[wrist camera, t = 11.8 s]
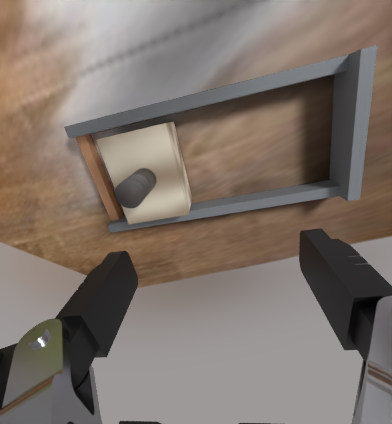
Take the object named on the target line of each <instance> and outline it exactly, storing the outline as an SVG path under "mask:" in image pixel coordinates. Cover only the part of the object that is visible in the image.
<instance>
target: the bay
mask: <svg viewBox="0 0 392 424" xmlns="http://www.w3.org/2000/svg"><path fill="white" fill-rule="evenodd" d="M376 53H377V45H376V46H372V47H368V48H364V49H360V50H358V51H356V52H354V53H351V54H349V55H345V56H341V57H337V58H333V59H329V60H325V61H321V62H317V63H314V64H310V65H306V66H302V67H298V68H294V69H290V70H286V71H282V72H278V73H274V74H270V75H266V76H262V77H259V78H255V79H251V80H247V81H243V82H239V83H235V84H231V85H227V86H223V87H219V88H215V89H211V90H207V91H204V92H200V93H196V94H192V95H188V96H184V97H180V98H176V99H172V100H168V101H164V102H160V103H156V104H152V105H149V106H145V107H141V108H137V109H133V110H129V111H125V112H121V113H117V114H113V115H109V116H105V117H101V118H97V119H94V120H90V121H86V122H82V123H78V124H74V125H70V126H66V127H64V128H65V130H66V132H67V135H68V137H69V138H74V137H76V140H77V142H78V144H79V147H80V149H81V151H82V154H83V156H84V158H85V161H86V163H87V165H88V168H89V170H90V172H91V175H92V177H93V179H94V182H95V184H96V186H97V189H98V191H99V194H100V196H101V198H102V201H103V203H104V205H105V208H106V210H107V212H108V215H109V217H110V219H111V222H110V223H109V224H108V225H107V226H108V228H109V230H110V232H111V233H112V232H118V231H124V230H131V229H137V228H143V227H149V226H155V225H161V224H168V223H174V222H180V221H186V220H192V219H199V218H205V217H211V216H217V215H223V214H230V213H236V212H242V211H248V210H254V209H261V208H267V207H273V206H279V205H285V204H292V203H298V202H304V201H310V200H316V199H323V198H329V197H335V196H341V197H342V198H344V199H345V200H347V201H351V200H357V199H360V193H361V184H362V175H363V167H364V158H365V149H366V140H367V132H368V123H369V114H370V106H371V97H372V88H373V79H374V71H375V62H376ZM331 75H334V92H333V112H332V133H331V153H330V174H329V180H326V181H320V182H314V183H309V184H303V185H297V186H291V187H286V188H280V189H274V190H268V191H263V192H257V193H251V194H245V195H239V196H234V197H228V198H222V199H216V200H211V201H205V202H199V203H193V204H191V206H190V211H189V215H183V216H176V217H170V218H164V219H158V220H152V221H146V222H140V223H134V224H129V223H128V221H127V218H126V216H125V215H124V216H122V213H121V211H120V208H119V206H118V203H117V201H116V198H115V196H114V193H113V191H112V188H111V185H110V183H109V180H108V178H107V175H106V173H105V170H104V168H103V165H102V163H101V160H100V158H99V155H98V153H97V150H96V148H95V145H94V143H93V140H92V138H91V135H90V134H93V133H97V132H101V131H105V130H109V129H113V128H118V127H122V126H126V125H130V124H134V123H138V122H142V121H146V120H150V119H155V118H159V117H163V116H167V115H171V114H175V113H179V112H183V111H187V110H192V109H196V108H200V107H204V106H208V105H212V104H216V103H220V102H224V101H229V100H233V99H237V98H241V97H245V96H249V95H253V94H257V93H261V92H266V91H270V90H274V89H278V88H282V87H286V86H290V85H294V84H298V83H303V82H307V81H311V80H315V79H319V78H323V77H327V76H331Z"/></svg>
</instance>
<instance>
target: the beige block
mask: <svg viewBox="0 0 392 424" xmlns="http://www.w3.org/2000/svg"><path fill="white" fill-rule="evenodd" d="M96 142H97V144H98V147H99V149H100V152H101V154H102V157H103V159H104V162H105V165H106V167H107V170H108V172H109V175H110V177H111V180H112V182H113V185H114V188H115V192H114V193H115V198H116V200H117V201H118V203H119V204H120V205H121V206H122V208H123V211H124V213H125V216H126V218H127V221H128V223H129V224H134V223H140V222H146V221H152V220H158V219H164V218H170V217H176V216H183V215H189V211H190V206H191V202H192V196H191V191H190V187H189V183H188V179H187V174H186V170H185V166H184V162H183V158H182V153H181V149H180V145H179V141H178V136H177V132H176V128H175V124H174V122H169V123H164V124H160V125H155V126H151V127H147V128H143V129H138V130H134V131H130V132H126V133H122V134H117V135H113V136H109V137H105V138H101V139H96Z"/></svg>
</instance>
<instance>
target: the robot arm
mask: <svg viewBox="0 0 392 424" xmlns="http://www.w3.org/2000/svg"><path fill="white" fill-rule="evenodd" d="M299 261H300V267H301V271H302V273H303V275H304V277H305V278H306V281H307V282H308V284H309V286H310V288H311V290H312V292H313V294H314V295H315V297H316V299H317V301H318V302H319V304H320V306H321V308H322V310H323V312H324V314H325V315H326V317H327V319H328V321H329V323H330V325H331V327H332V328H333V330H334V332H335V334H336V335H337V337H338V339H339V341H340V343H341V345H342V347H343V348H344V350H358V351H359V353H360V355H361V356H362V358H363V363H362V368H361V374H360V379H359V385H358V390H357V396H356V402H355V408H354V413H353V419H352V424H392V286H391V285H390V284H389V283H388V282H387V281H386V280H385V279H384V278H383V277H382V276H381V275H380V274H379V273H378V272H377V271H376V270H375V269H374V268H373V267H372V266H371V265H368V262H367V261H366V260H365V259H364V258H363V257H360V254H359V253H358V252H357V251H356V250H354V249H353V247H351V246H350V245H348V244H347V243H345V242H343V241H341V240H339V239H331V238H330V237H329V236H328V235H327V234H326V233H325V232H324V231H323V230H322V229H312V230H303V231H301V232H300V252H299ZM137 285H138V277H137V274H136V271H135V269H134V266H133V264H132V261H131V259H130V256H129V254H128V252H126V251H120V252H111V253H109V254H108V255H107V256H106V258H105V259H104V260H103V262H102V263H101V264H100V265H98V266H97V267H96V268H95V269H93V270H92V271H91V272H90V273H89V275H88V276H87V277H86V279H85V280H84V282H83V283H82V284H81V285H80V286H79V288H78V290H76V292H75V293H74V294H73V296H72V297H71V298H70V300H69V301H68V302H67V303H66V305H65V306H64V307H63V309H62V310H61V311H60V312H59V314H58V315H57V316H56V318H55V319H49V320H46V321H44V322H42V323H40V324H38V325H36V326H35V327H33V328H32V329H31V330H29V331H28V332H27V333H26V334H25V335H24V336H23V337H22V338H21V340H20V341H19V342H18V343H17V344H14V345H11V346H8V347H5V348H2V349H0V424H102V421H101V416H100V410H99V403H98V396H97V390H96V384H95V376H94V371H93V367H92V366H91V364H92V361H93V359H94V358H95V357H107V355H108V353H109V351H110V348H111V346H112V344H113V341H114V339H115V337H116V335H117V332H118V330H119V327H120V325H121V323H122V321H123V318H124V316H125V314H126V312H127V309H128V307H129V305H130V302H131V300H132V298H133V295H134V293H135V291H136V289H137ZM119 424H161V423H158V422H141V421H120V422H119ZM239 424H265V423H239ZM266 424H267V423H266Z"/></svg>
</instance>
